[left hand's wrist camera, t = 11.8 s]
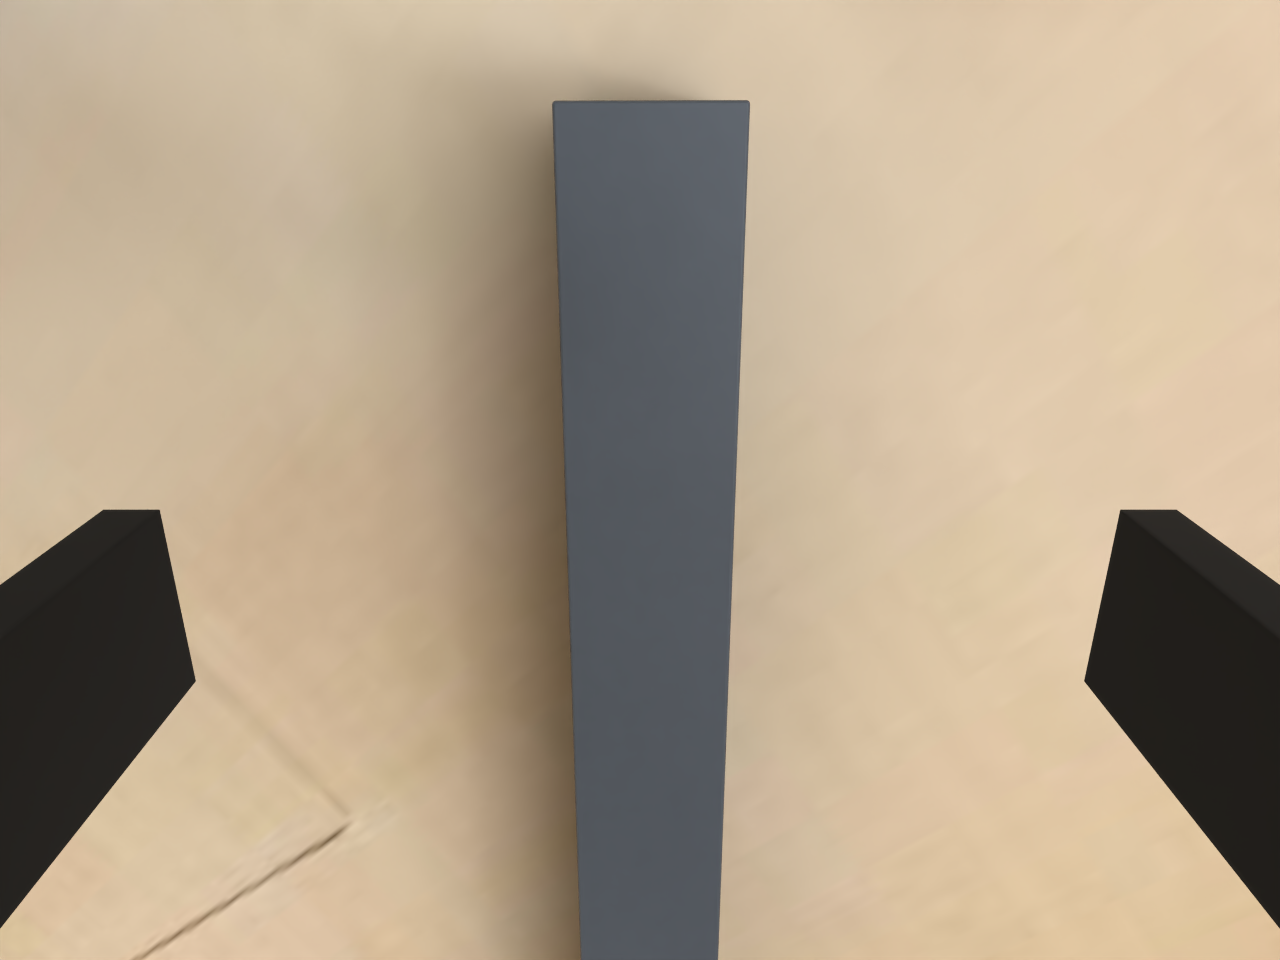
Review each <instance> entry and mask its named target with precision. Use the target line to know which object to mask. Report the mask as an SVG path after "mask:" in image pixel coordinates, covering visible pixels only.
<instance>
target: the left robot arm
mask: <svg viewBox="0 0 1280 960" xmlns="http://www.w3.org/2000/svg"><path fill="white" fill-rule="evenodd" d="M195 681H196V680H195V675H194V671H193V666H192V661H191V656H190V652H189V647H188V642H187V637H186V633H185V628H184V623H183V618H182V614H181V609H180V604H179V600H178V595H177V590H176V585H175V581H174V576H173V571H172V566H171V562H170V557H169V552H168V547H167V543H166V538H165V533H164V529H163V524H162V519H161V514H160V510H103V511H101V512H100V513H98V514H97V515H96V516H94V517H93V518H92V519H90V520H89V521H87V522H86V523H85V524H83V525H82V526H81V527H79V528H78V529H76V530H75V531H74V532H72V533H71V534H70V535H68V536H67V537H65V538H64V539H63V540H61V541H60V542H59V543H57V544H56V545H54V546H53V547H52V548H50V549H49V550H48V551H46V552H45V553H43V554H42V555H41V556H39V557H38V558H37V559H35V560H34V561H32V562H31V563H30V564H28V565H27V566H26V567H24V568H23V569H21V570H20V571H19V572H17V573H16V574H15V575H13V576H12V577H11V578H9V579H8V580H6V581H5V582H4V583H2V584H1V585H0V928H1V927H2V926H3V924H4V923H5V922H6V920H7V919H8V918H9V917H10V915H11V914H12V913H13V912H14V910H15V909H16V908H17V907H18V905H19V904H20V903H21V902H22V900H23V899H24V898H25V896H26V895H27V894H28V893H29V891H30V890H31V889H32V888H33V886H34V885H35V884H36V883H37V881H38V880H39V879H40V877H41V876H42V875H43V874H44V872H45V871H46V870H47V869H48V867H49V866H50V865H51V864H52V862H53V861H54V860H55V858H56V857H57V856H58V855H59V853H60V852H61V851H62V850H63V848H64V847H65V846H66V845H67V843H68V842H69V841H70V840H71V838H72V837H73V836H74V834H75V833H76V832H77V831H78V829H79V828H80V827H81V826H82V824H83V823H84V822H85V821H86V819H87V818H88V817H89V815H90V814H91V813H92V812H93V810H94V809H95V808H96V807H97V805H98V804H99V803H100V802H101V800H102V799H103V798H104V797H105V795H106V794H107V793H108V791H109V790H110V789H111V788H112V786H113V785H114V784H115V783H116V781H117V780H118V779H119V778H120V776H121V775H122V774H123V772H124V771H125V770H126V769H127V767H128V766H129V765H130V764H131V762H132V761H133V760H134V759H135V757H136V756H137V755H138V753H139V752H140V751H141V750H142V748H143V747H144V746H145V745H146V743H147V742H148V741H149V740H150V738H151V737H152V736H153V735H154V733H155V732H156V731H157V729H158V728H159V727H160V726H161V724H162V723H163V722H164V721H165V719H166V718H167V717H168V716H169V714H170V713H171V712H172V710H173V709H174V708H175V707H176V705H177V704H178V703H179V702H180V700H181V699H182V698H183V697H184V695H185V694H186V693H187V692H188V690H189V689H190V688H191V686H192V685H193V684H194V683H195ZM1084 681H1085V683H1086V684H1087V685H1088V686H1089V688H1090V689H1091V690H1092V692H1093V693H1094V694H1095V695H1096V697H1097V698H1098V699H1099V700H1100V702H1101V703H1102V704H1103V705H1104V707H1105V708H1106V709H1107V710H1108V712H1109V713H1110V714H1111V716H1112V717H1113V718H1114V719H1115V721H1116V722H1117V723H1118V724H1119V726H1120V727H1121V728H1122V729H1123V731H1124V732H1125V733H1126V735H1127V736H1128V737H1129V738H1130V740H1131V741H1132V742H1133V743H1134V745H1135V746H1136V747H1137V748H1138V750H1139V751H1140V752H1141V753H1142V755H1143V756H1144V757H1145V759H1146V760H1147V761H1148V762H1149V764H1150V765H1151V766H1152V767H1153V769H1154V770H1155V771H1156V772H1157V774H1158V775H1159V776H1160V778H1161V779H1162V780H1163V781H1164V783H1165V784H1166V785H1167V786H1168V788H1169V789H1170V790H1171V791H1172V793H1173V794H1174V795H1175V797H1176V798H1177V799H1178V800H1179V802H1180V803H1181V804H1182V805H1183V807H1184V808H1185V809H1186V810H1187V812H1188V813H1189V814H1190V815H1191V817H1192V818H1193V819H1194V821H1195V822H1196V823H1197V824H1198V826H1199V827H1200V828H1201V829H1202V831H1203V832H1204V833H1205V834H1206V836H1207V837H1208V838H1209V840H1210V841H1211V842H1212V843H1213V845H1214V846H1215V847H1216V848H1217V850H1218V851H1219V852H1220V853H1221V855H1222V856H1223V857H1224V858H1225V860H1226V861H1227V862H1228V864H1229V865H1230V866H1231V867H1232V869H1233V870H1234V871H1235V872H1236V874H1237V875H1238V876H1239V877H1240V879H1241V880H1242V881H1243V883H1244V884H1245V885H1246V886H1247V888H1248V889H1249V890H1250V891H1251V893H1252V894H1253V895H1254V896H1255V898H1256V899H1257V900H1258V902H1259V903H1260V904H1261V905H1262V907H1263V908H1264V909H1265V910H1266V912H1267V913H1268V914H1269V915H1270V917H1271V918H1272V919H1273V920H1274V922H1275V923H1276V924H1277V926H1278V927H1279V928H1280V585H1279V584H1278V583H1276V582H1275V581H1274V580H1272V579H1271V578H1269V577H1268V576H1267V575H1265V574H1264V573H1263V572H1261V571H1260V570H1259V569H1257V568H1256V567H1254V566H1253V565H1252V564H1250V563H1249V562H1248V561H1246V560H1245V559H1243V558H1242V557H1241V556H1239V555H1238V554H1237V553H1235V552H1234V551H1232V550H1231V549H1230V548H1228V547H1227V546H1226V545H1224V544H1223V543H1221V542H1220V541H1219V540H1217V539H1216V538H1215V537H1213V536H1212V535H1210V534H1209V533H1208V532H1206V531H1205V530H1204V529H1202V528H1201V527H1199V526H1198V525H1197V524H1195V523H1194V522H1193V521H1191V520H1190V519H1188V518H1187V517H1186V516H1184V515H1183V514H1182V513H1180V512H1179V511H1177V510H1120V514H1119V519H1118V524H1117V529H1116V533H1115V538H1114V543H1113V547H1112V552H1111V557H1110V562H1109V566H1108V571H1107V576H1106V581H1105V585H1104V590H1103V595H1102V600H1101V604H1100V609H1099V614H1098V618H1097V623H1096V628H1095V633H1094V637H1093V642H1092V647H1091V652H1090V656H1089V661H1088V666H1087V671H1086V675H1085V680H1084Z"/></svg>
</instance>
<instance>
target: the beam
mask: <svg viewBox="0 0 1280 960" xmlns="http://www.w3.org/2000/svg"><path fill="white" fill-rule="evenodd" d="M552 111H553V141H554V171H555V201H556V231H557V261H558V290H559V320H560V350H561V380H562V410H563V440H564V470H565V500H566V529H567V559H568V589H569V619H570V649H571V679H572V709H573V738H574V768H575V798H576V828H577V858H578V888H579V918H580V948H581V960H718V944H719V917H720V890H721V864H722V837H723V810H724V783H725V757H726V730H727V703H728V677H729V650H730V623H731V596H732V570H733V543H734V516H735V489H736V463H737V436H738V409H739V382H740V356H741V329H742V302H743V275H744V249H745V222H746V195H747V169H748V142H749V115H750V103H749V101H747V100H682V101H554V102H553V104H552Z"/></svg>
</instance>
